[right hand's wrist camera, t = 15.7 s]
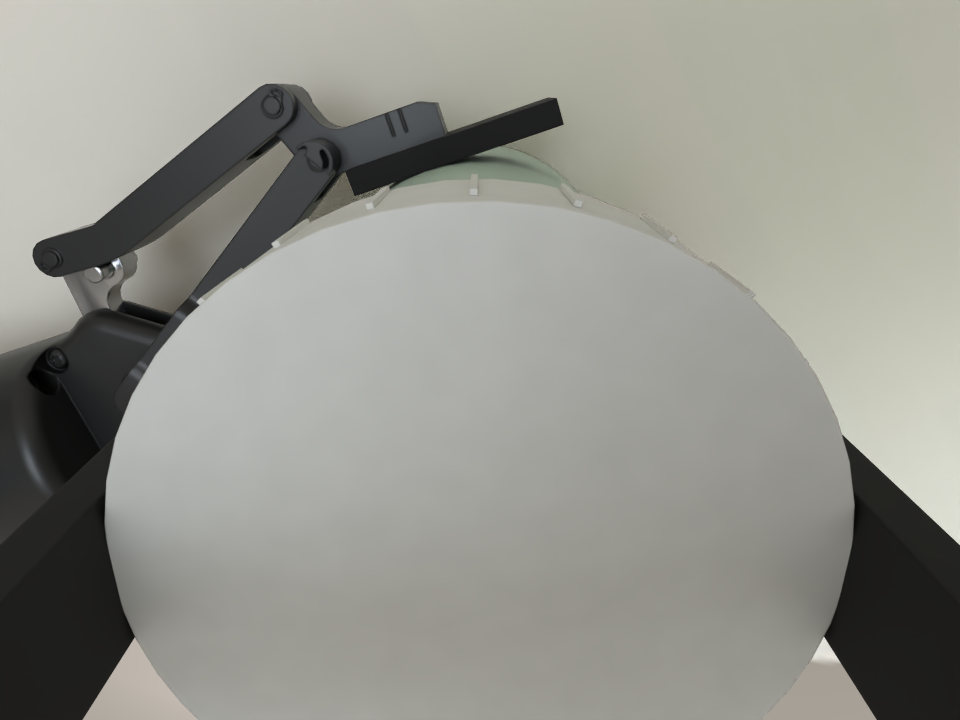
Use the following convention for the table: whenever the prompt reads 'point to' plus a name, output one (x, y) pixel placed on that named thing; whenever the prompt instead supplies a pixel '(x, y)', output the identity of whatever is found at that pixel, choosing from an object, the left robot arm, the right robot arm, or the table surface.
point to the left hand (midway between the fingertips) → (600, 275)
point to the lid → (479, 475)
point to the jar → (491, 170)
